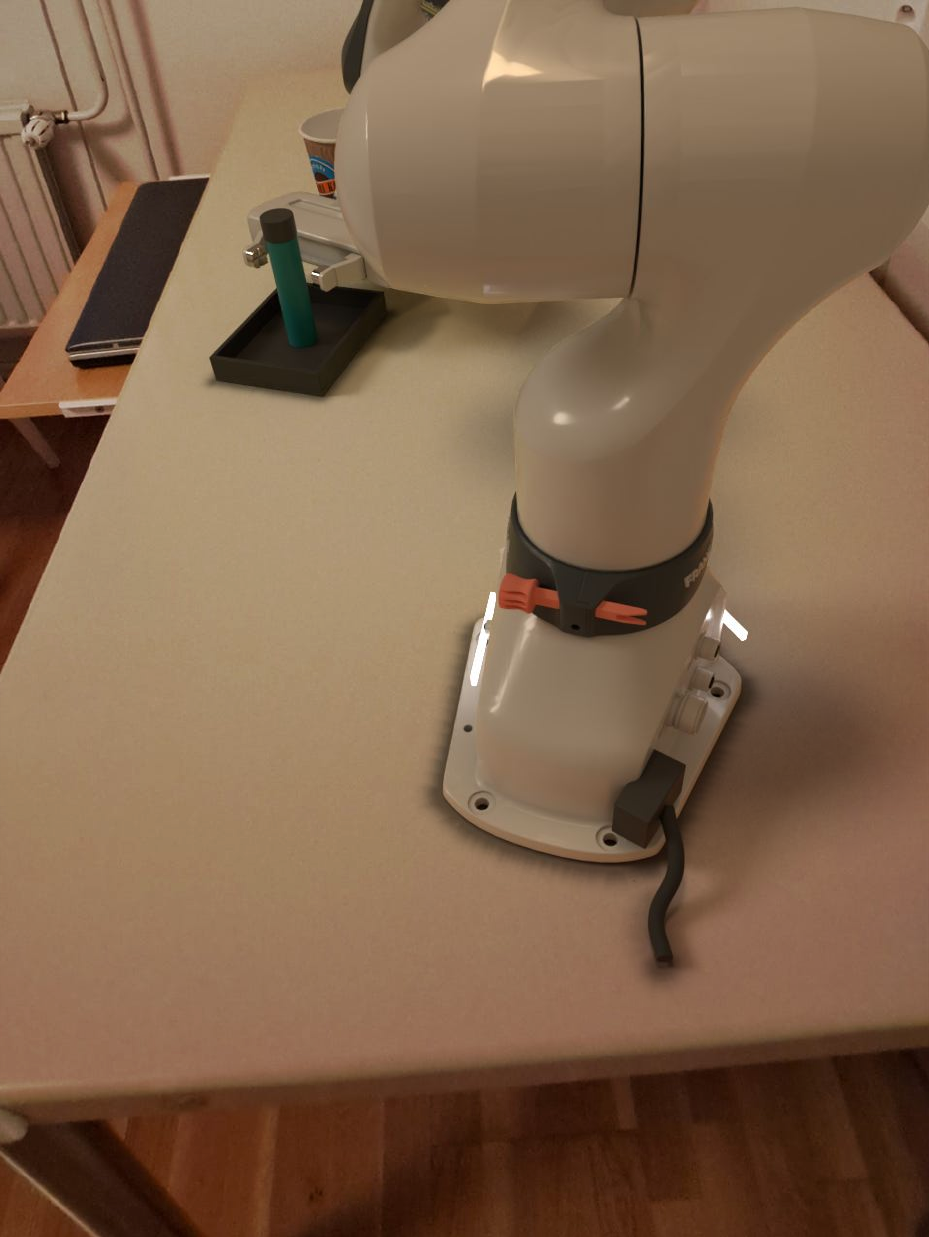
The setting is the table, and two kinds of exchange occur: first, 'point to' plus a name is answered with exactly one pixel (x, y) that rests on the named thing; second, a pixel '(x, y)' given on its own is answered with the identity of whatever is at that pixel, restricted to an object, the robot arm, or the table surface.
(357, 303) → the tray
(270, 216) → the marker
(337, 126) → the coffee cup
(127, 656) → the table surface
